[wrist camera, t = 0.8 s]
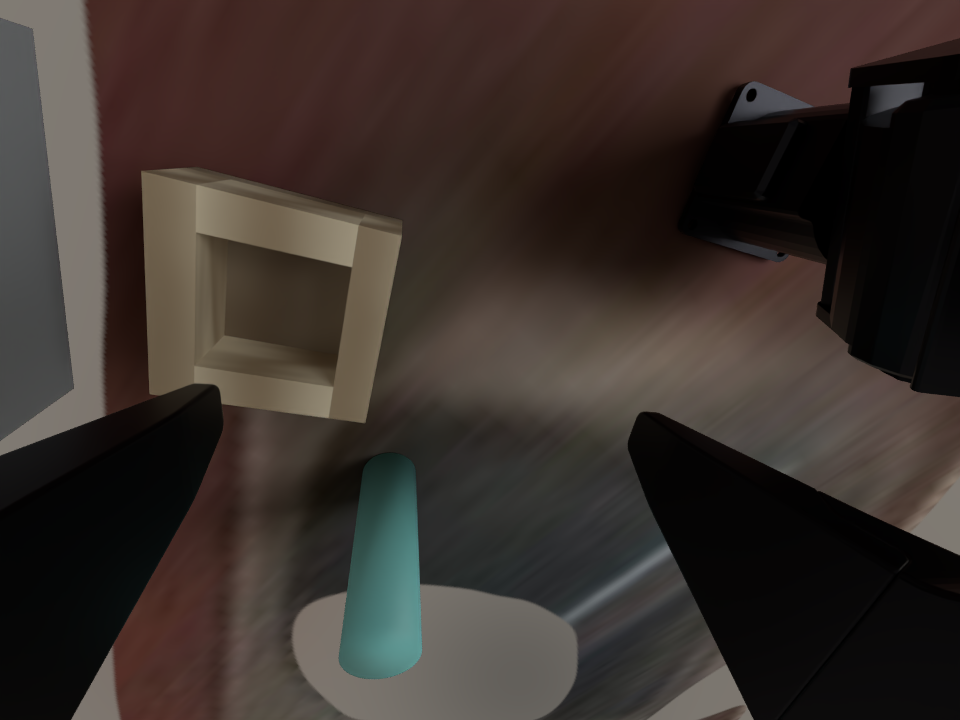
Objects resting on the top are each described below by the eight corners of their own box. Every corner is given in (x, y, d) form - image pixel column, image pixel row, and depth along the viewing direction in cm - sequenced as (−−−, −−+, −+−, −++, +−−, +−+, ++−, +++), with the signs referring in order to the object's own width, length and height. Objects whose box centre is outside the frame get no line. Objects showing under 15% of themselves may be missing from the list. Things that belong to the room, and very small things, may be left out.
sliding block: (402, 220, 19) (402, 235, 15) (371, 378, 22) (365, 423, 18) (197, 166, 17) (141, 171, 13) (195, 350, 20) (149, 394, 16)
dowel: (420, 456, 24) (429, 629, 16) (409, 496, 26) (412, 678, 17) (367, 449, 24) (345, 628, 15) (358, 491, 25) (333, 680, 16)
